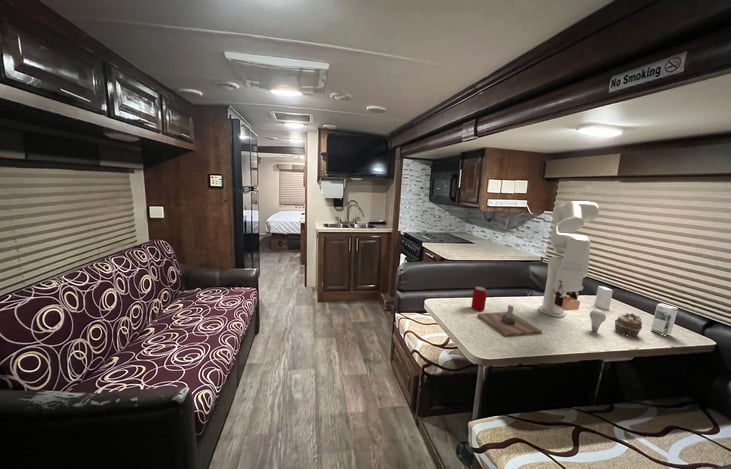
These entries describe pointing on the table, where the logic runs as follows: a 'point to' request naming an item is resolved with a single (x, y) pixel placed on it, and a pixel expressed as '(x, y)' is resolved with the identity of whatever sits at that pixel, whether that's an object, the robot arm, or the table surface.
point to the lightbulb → (597, 318)
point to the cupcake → (628, 324)
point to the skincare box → (603, 297)
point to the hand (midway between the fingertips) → (565, 304)
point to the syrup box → (664, 319)
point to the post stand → (509, 323)
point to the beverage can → (479, 298)
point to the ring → (567, 303)
